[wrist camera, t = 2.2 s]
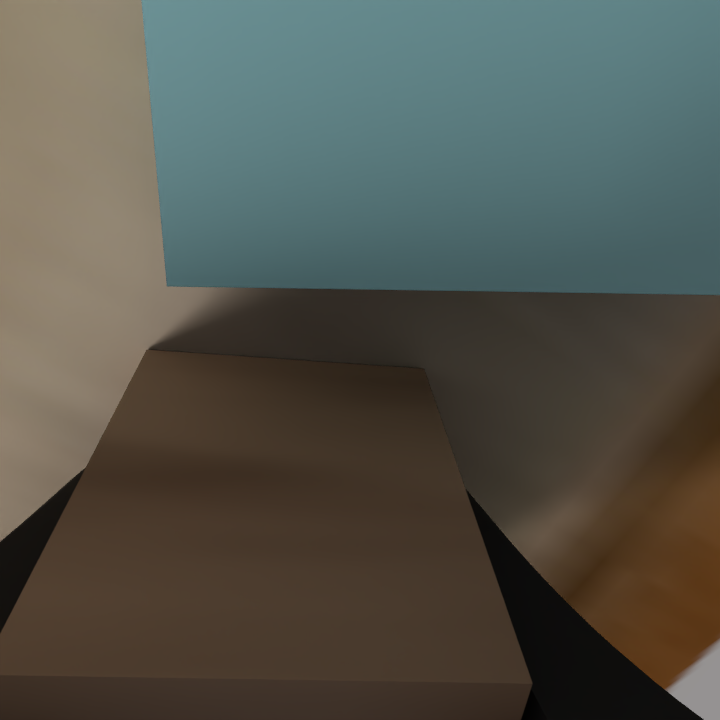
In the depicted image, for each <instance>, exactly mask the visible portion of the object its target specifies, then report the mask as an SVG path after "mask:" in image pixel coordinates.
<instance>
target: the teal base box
mask: <svg viewBox="0 0 720 720" xmlns="http://www.w3.org/2000/svg"><path fill="white" fill-rule="evenodd" d="M142 11H143V22H144V33H145V44H146V56H147V67H148V78H149V89H150V101H151V112H152V123H153V135H154V146H155V157H156V168H157V180H158V191H159V202H160V213H161V225H162V236H163V247H164V259H165V270H166V281H167V286H177V287H241V288H305V289H369V290H433V291H496V292H560V293H624V294H688V295H720V0H142Z"/></svg>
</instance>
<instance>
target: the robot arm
mask: <svg viewBox="0 0 720 720" xmlns="http://www.w3.org/2000/svg"><path fill="white" fill-rule="evenodd" d="M84 470H85V469H83V470H82V471H81V472H80V473H79V474H77V475H76V476H75V477H74V478H73V479H72V480H70V481H69V482H68V483H67V484H66V485H65V486H64V487H63V488H61V489H60V490H59V491H58V492H57V493H56V494H55V495H54V496H53V497H51V498H50V499H49V500H48V501H47V502H46V503H45V504H44V505H42V506H41V507H40V508H39V509H38V510H37V511H36V512H34V513H33V514H32V515H31V516H30V517H29V518H28V519H26V520H25V521H24V522H23V523H22V524H21V525H20V526H18V527H17V528H16V529H15V530H14V531H12V532H11V533H10V534H9V535H8V536H6V537H5V538H4V539H3V540H2V541H1V542H0V633H1V631H2V629H3V627H4V625H5V624H6V622H7V620H8V618H9V616H10V614H11V612H12V610H13V608H14V606H15V604H16V602H17V600H18V598H19V596H20V594H21V593H22V591H23V589H24V587H25V585H26V583H27V581H28V579H29V577H30V575H31V573H32V571H33V569H34V567H35V565H36V563H37V561H38V560H39V558H40V556H41V554H42V552H43V550H44V548H45V546H46V544H47V542H48V540H49V538H50V536H51V534H52V532H53V530H54V529H55V527H56V525H57V523H58V521H59V519H60V517H61V515H62V513H63V511H64V509H65V507H66V505H67V503H68V501H69V499H70V498H71V496H72V494H73V492H74V490H75V488H76V486H77V484H78V482H79V480H80V478H81V476H82V474H83V472H84ZM466 492H467V495H468V498H469V501H470V504H471V507H472V510H473V512H474V515H475V518H476V521H477V524H478V527H479V530H480V533H481V536H482V538H483V541H484V544H485V547H486V550H487V553H488V556H489V559H490V562H491V565H492V567H493V570H494V573H495V576H496V579H497V582H498V585H499V588H500V591H501V593H502V596H503V599H504V602H505V605H506V608H507V611H508V614H509V617H510V620H511V622H512V625H513V628H514V631H515V634H516V637H517V640H518V643H519V646H520V648H521V651H522V654H523V657H524V660H525V663H526V666H527V669H528V672H529V675H530V677H531V680H532V683H533V684H532V687H531V690H530V693H529V696H528V699H527V703H526V706H525V709H524V712H523V715H522V718H521V720H703V719H702V718H701V717H699V716H698V715H697V714H695V713H694V712H692V711H691V710H690V709H689V708H687V707H686V706H685V705H683V704H682V703H681V702H679V701H678V700H677V699H675V698H674V697H673V696H672V695H671V694H669V693H668V692H667V691H666V690H664V689H663V688H662V687H660V686H659V685H658V684H657V683H655V682H654V681H653V680H652V679H651V678H649V677H648V676H647V675H646V674H645V673H644V672H642V671H641V670H640V669H639V668H638V667H637V666H635V665H634V664H633V663H632V662H631V661H630V660H628V659H627V658H626V657H625V656H624V655H623V654H621V653H620V652H619V651H618V650H617V649H616V648H614V647H613V646H612V645H611V644H610V643H609V642H608V641H607V640H605V639H604V638H603V637H602V636H601V635H600V634H599V633H598V632H597V631H596V630H595V629H594V628H592V627H591V626H590V625H589V624H588V623H587V622H586V621H585V620H584V619H583V618H582V617H581V616H580V615H579V614H578V613H577V612H576V611H575V610H574V609H573V608H572V607H571V606H570V605H569V604H568V603H567V602H566V601H565V600H564V599H563V598H562V597H561V596H560V595H559V594H558V593H557V592H556V591H555V590H554V589H553V588H552V587H551V586H550V585H549V584H548V583H547V582H546V581H545V580H544V579H543V577H542V576H541V575H540V574H539V573H538V572H537V571H536V570H535V569H534V568H533V567H532V565H531V564H530V563H529V562H528V561H527V560H526V559H525V558H524V557H523V556H522V554H521V553H520V552H519V551H518V550H517V549H516V548H515V547H514V545H513V544H512V543H511V542H510V541H509V540H508V538H507V537H506V536H505V535H504V534H503V533H502V531H501V530H500V529H499V528H498V527H497V526H496V524H495V523H494V522H493V521H492V520H491V518H490V517H489V516H488V515H487V514H486V512H485V511H484V510H483V509H482V508H481V507H480V505H479V504H478V503H477V502H476V501H475V499H474V498H473V497H472V496H471V495H470V493H469V492H468V491H467V490H466Z"/></svg>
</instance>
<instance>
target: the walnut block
mask: <svg viewBox="0 0 720 720" xmlns="http://www.w3.org/2000/svg"><path fill="white" fill-rule="evenodd" d="M532 684H533V683H532V680H531V677H530V675H529V672H528V669H527V666H526V663H525V660H524V657H523V654H522V651H521V648H520V646H519V643H518V640H517V637H516V634H515V631H514V628H513V625H512V622H511V620H510V617H509V614H508V611H507V608H506V605H505V602H504V599H503V596H502V593H501V591H500V588H499V585H498V582H497V579H496V576H495V573H494V570H493V567H492V565H491V562H490V559H489V556H488V553H487V550H486V547H485V544H484V541H483V538H482V536H481V533H480V530H479V527H478V524H477V521H476V518H475V515H474V512H473V510H472V507H471V504H470V501H469V498H468V495H467V492H466V489H465V486H464V483H463V481H462V478H461V475H460V472H459V469H458V466H457V463H456V460H455V457H454V455H453V452H452V449H451V446H450V443H449V440H448V437H447V434H446V431H445V428H444V426H443V423H442V420H441V417H440V414H439V411H438V408H437V405H436V402H435V400H434V397H433V394H432V391H431V388H430V385H429V382H428V379H427V376H426V373H425V371H424V369H420V368H405V367H391V366H376V365H362V364H347V363H333V362H318V361H304V360H289V359H275V358H260V357H246V356H231V355H217V354H202V353H188V352H173V351H159V350H146V352H145V354H144V356H143V358H142V360H141V362H140V364H139V366H138V368H137V370H136V372H135V373H134V375H133V377H132V379H131V381H130V383H129V385H128V387H127V389H126V391H125V393H124V395H123V397H122V399H121V401H120V403H119V404H118V406H117V408H116V410H115V412H114V414H113V416H112V418H111V420H110V422H109V424H108V426H107V428H106V430H105V432H104V434H103V435H102V437H101V439H100V441H99V443H98V445H97V447H96V449H95V451H94V453H93V455H92V457H91V459H90V461H89V463H88V465H87V467H86V468H85V470H84V472H83V474H82V476H81V478H80V480H79V482H78V484H77V486H76V488H75V490H74V492H73V494H72V496H71V498H70V499H69V501H68V503H67V505H66V507H65V509H64V511H63V513H62V515H61V517H60V519H59V521H58V523H57V525H56V527H55V529H54V530H53V532H52V534H51V536H50V538H49V540H48V542H47V544H46V546H45V548H44V550H43V552H42V554H41V556H40V558H39V560H38V561H37V563H36V565H35V567H34V569H33V571H32V573H31V575H30V577H29V579H28V581H27V583H26V585H25V587H24V589H23V591H22V593H21V594H20V596H19V598H18V600H17V602H16V604H15V606H14V608H13V610H12V612H11V614H10V616H9V618H8V620H7V622H6V624H5V625H4V627H3V629H2V631H1V633H0V720H521V718H522V715H523V712H524V709H525V706H526V703H527V699H528V696H529V693H530V690H531V687H532Z"/></svg>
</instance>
